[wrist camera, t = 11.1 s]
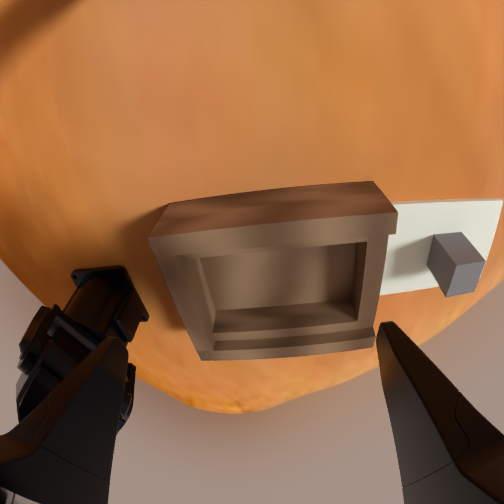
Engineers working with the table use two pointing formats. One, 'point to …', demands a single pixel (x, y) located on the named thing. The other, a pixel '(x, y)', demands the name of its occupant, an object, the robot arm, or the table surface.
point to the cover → (440, 244)
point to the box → (277, 269)
